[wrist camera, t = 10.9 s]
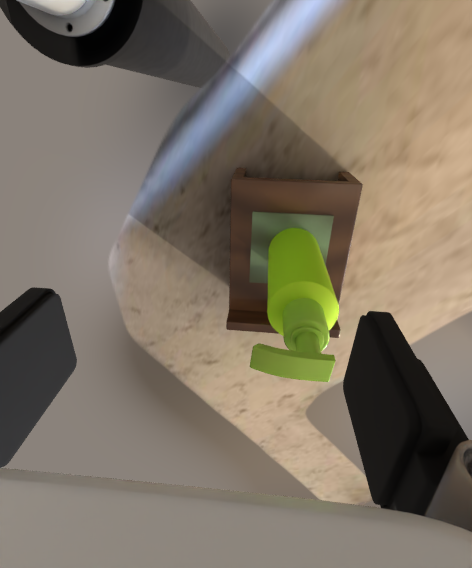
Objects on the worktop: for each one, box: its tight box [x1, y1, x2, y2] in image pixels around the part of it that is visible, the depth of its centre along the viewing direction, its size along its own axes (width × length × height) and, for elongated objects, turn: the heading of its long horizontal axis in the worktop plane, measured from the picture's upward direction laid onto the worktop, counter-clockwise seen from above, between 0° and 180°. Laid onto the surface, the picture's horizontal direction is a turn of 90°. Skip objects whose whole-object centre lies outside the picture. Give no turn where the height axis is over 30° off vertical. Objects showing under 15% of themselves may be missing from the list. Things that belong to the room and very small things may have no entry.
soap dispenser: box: [250, 228, 339, 382], centre depth 30 cm, size 6×7×20 cm
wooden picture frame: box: [227, 168, 363, 338], centre depth 42 cm, size 18×14×10 cm
